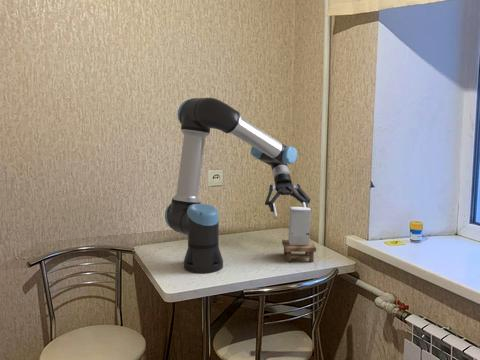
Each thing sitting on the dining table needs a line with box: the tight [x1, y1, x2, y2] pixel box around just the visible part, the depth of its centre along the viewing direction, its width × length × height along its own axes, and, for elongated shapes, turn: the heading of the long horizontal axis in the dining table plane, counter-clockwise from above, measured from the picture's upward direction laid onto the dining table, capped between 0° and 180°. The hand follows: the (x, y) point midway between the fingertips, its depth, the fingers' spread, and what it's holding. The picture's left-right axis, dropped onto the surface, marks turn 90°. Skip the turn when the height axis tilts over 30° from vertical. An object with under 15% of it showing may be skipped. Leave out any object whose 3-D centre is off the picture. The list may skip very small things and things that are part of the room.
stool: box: [281, 239, 317, 263], centre depth 177 cm, size 12×12×6 cm
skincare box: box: [287, 206, 312, 246], centre depth 176 cm, size 8×6×15 cm
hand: (291, 217), depth 185 cm, fingers open, 13 cm apart
